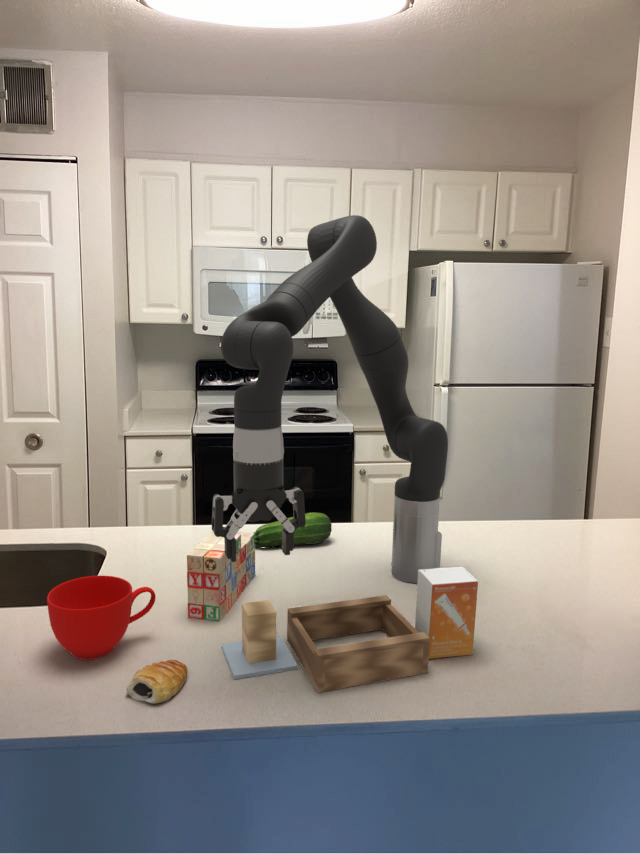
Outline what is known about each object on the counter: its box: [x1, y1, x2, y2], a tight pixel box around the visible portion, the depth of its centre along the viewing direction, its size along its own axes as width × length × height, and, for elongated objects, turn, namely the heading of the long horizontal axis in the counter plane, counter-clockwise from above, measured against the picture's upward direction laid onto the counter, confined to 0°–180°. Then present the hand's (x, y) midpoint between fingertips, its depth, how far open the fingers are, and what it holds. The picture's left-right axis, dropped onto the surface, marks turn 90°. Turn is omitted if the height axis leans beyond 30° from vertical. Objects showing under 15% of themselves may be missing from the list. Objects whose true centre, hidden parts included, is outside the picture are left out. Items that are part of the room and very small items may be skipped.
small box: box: [414, 566, 479, 660], centre depth 113 cm, size 8×6×13 cm
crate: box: [286, 594, 430, 693], centre depth 110 cm, size 18×16×6 cm
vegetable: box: [252, 512, 333, 548], centre depth 159 cm, size 7×7×20 cm
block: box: [241, 599, 277, 664], centre depth 109 cm, size 4×4×8 cm
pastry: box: [126, 659, 189, 704], centre depth 101 cm, size 9×7×4 cm
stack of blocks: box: [186, 531, 256, 623], centre depth 131 cm, size 21×6×12 cm, turn 168°
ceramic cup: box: [46, 575, 156, 660], centre depth 112 cm, size 13×17×10 cm
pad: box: [220, 635, 298, 680], centre depth 110 cm, size 10×10×1 cm
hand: (259, 556), depth 106 cm, fingers open, 8 cm apart
